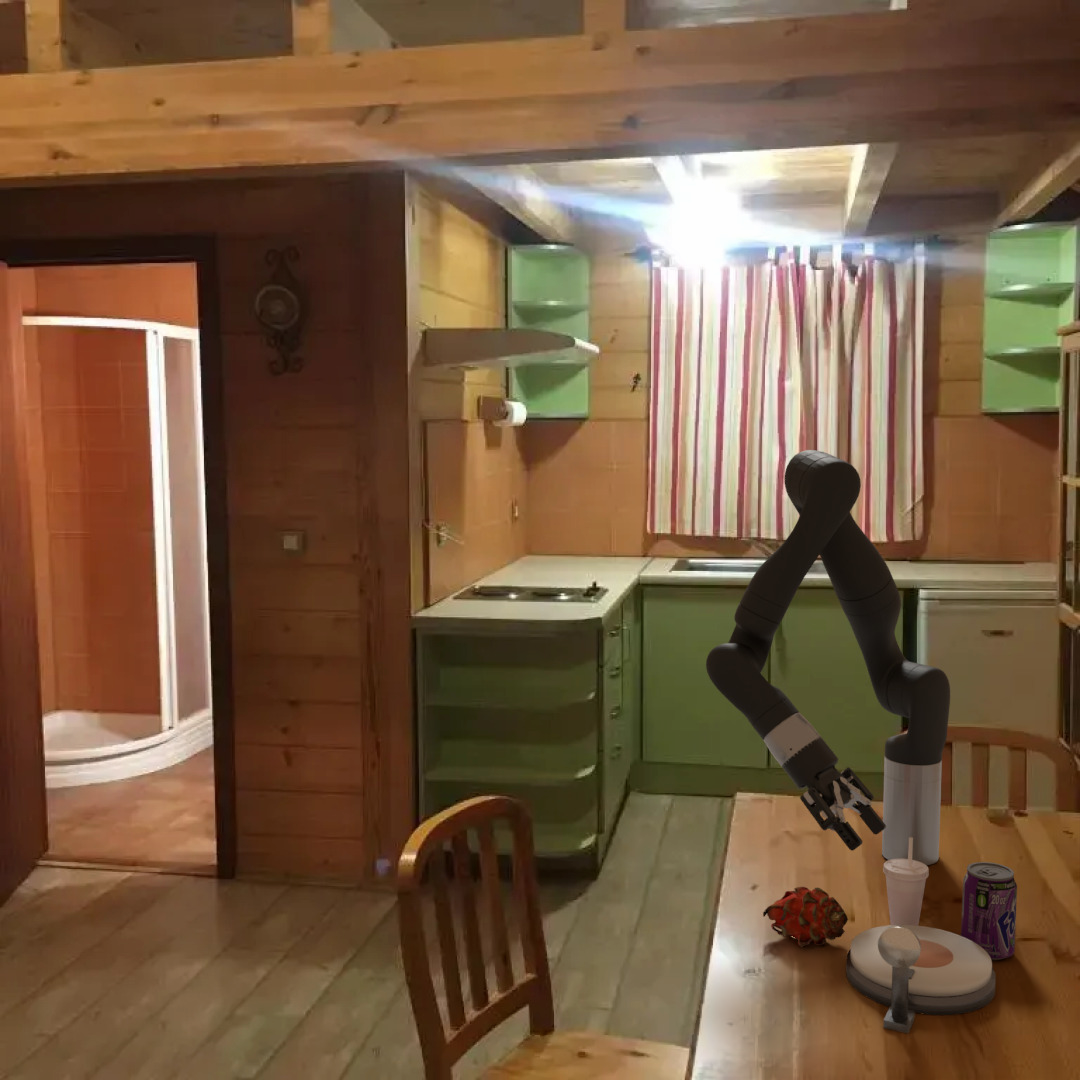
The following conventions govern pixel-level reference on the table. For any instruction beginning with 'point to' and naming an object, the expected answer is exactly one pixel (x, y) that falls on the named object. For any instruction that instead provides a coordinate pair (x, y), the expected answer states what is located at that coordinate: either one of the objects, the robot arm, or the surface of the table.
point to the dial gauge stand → (899, 973)
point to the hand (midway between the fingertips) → (869, 839)
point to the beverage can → (990, 908)
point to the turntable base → (920, 1002)
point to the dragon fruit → (807, 916)
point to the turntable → (927, 962)
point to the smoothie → (905, 888)
